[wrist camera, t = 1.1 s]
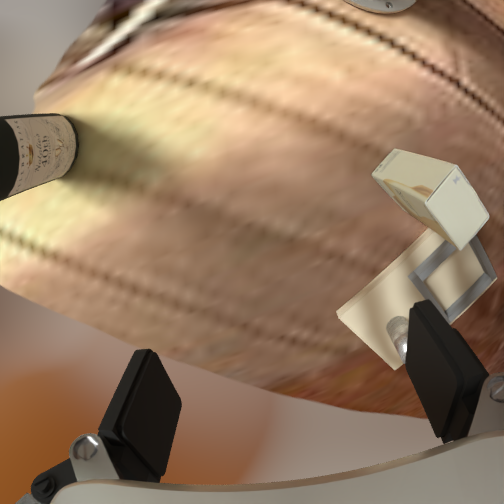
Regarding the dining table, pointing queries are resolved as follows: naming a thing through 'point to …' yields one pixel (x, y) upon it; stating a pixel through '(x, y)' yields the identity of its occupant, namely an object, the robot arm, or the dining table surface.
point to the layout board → (418, 289)
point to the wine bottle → (34, 151)
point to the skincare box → (433, 194)
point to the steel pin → (398, 334)
